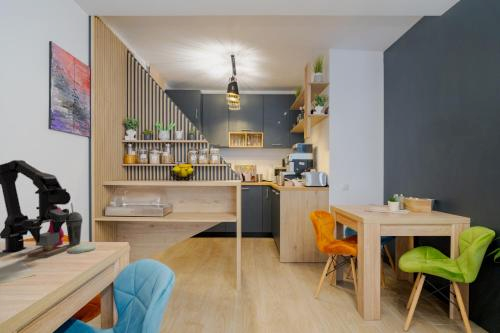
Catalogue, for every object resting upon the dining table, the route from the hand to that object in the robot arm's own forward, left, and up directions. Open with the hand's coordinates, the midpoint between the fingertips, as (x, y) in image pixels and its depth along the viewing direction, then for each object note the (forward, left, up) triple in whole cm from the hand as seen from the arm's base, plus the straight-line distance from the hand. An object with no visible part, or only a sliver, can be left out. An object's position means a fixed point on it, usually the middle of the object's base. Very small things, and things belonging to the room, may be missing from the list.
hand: (47, 239), depth 128 cm
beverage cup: (0, +15, -6) cm, 16 cm away
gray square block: (0, 0, -2) cm, 2 cm away
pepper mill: (-9, +13, -6) cm, 17 cm away
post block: (0, 0, -6) cm, 6 cm away
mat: (+11, +7, -6) cm, 14 cm away
